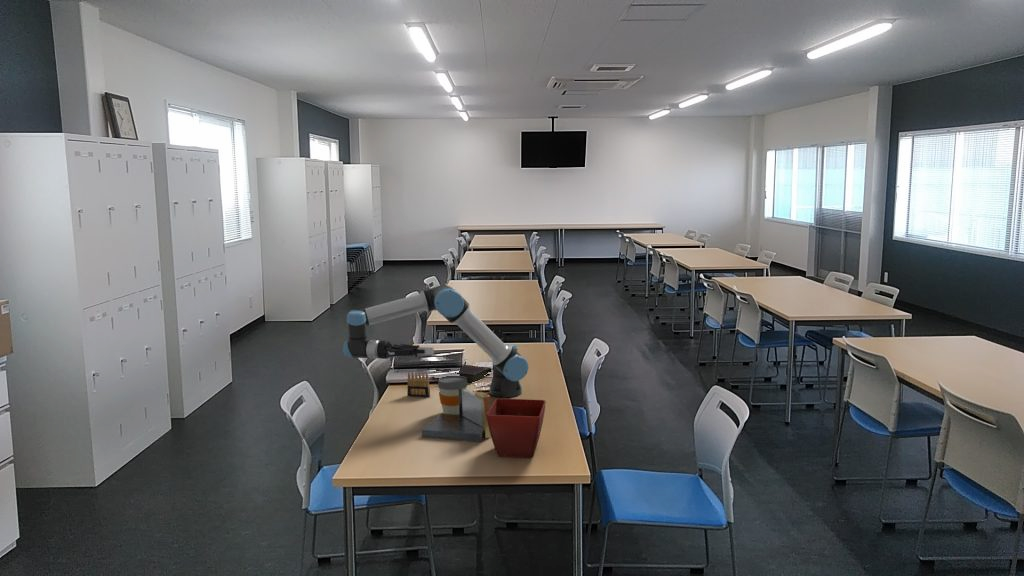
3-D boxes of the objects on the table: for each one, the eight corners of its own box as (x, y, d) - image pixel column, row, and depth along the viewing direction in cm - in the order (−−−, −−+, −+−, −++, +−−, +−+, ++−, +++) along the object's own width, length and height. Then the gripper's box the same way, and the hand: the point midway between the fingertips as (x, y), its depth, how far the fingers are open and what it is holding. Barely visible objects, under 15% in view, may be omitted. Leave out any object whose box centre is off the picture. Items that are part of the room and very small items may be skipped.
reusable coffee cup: (474, 412, 299) (473, 378, 297) (452, 420, 290) (451, 385, 288) (454, 406, 307) (453, 373, 305) (433, 413, 298) (431, 380, 296)
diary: (450, 371, 370) (450, 361, 370) (491, 376, 359) (491, 366, 358) (431, 379, 354) (430, 369, 353) (473, 384, 343) (473, 374, 342)
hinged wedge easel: (458, 414, 286) (457, 388, 285) (464, 413, 288) (463, 387, 286) (482, 427, 270) (482, 400, 268) (489, 426, 272) (488, 398, 270)
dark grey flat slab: (440, 420, 290) (440, 413, 289) (495, 424, 283) (495, 417, 283) (422, 437, 271) (421, 429, 270) (480, 441, 264) (480, 434, 264)
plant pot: (540, 462, 243) (539, 416, 241) (487, 460, 246) (485, 414, 244) (546, 442, 262) (546, 399, 260) (496, 440, 265) (495, 398, 263)
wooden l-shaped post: (482, 431, 275) (481, 391, 273) (491, 437, 269) (490, 396, 266) (476, 433, 273) (474, 392, 271) (484, 438, 267) (483, 397, 265)
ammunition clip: (430, 396, 324) (429, 371, 322) (429, 397, 322) (427, 372, 320) (408, 395, 326) (407, 370, 324) (407, 396, 324) (406, 371, 322)
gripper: (386, 354, 295) (439, 356, 289) (373, 362, 283) (427, 364, 277) (385, 337, 294) (438, 338, 288) (372, 344, 282) (426, 345, 276)
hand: (433, 351), depth 283 cm, fingers closed
